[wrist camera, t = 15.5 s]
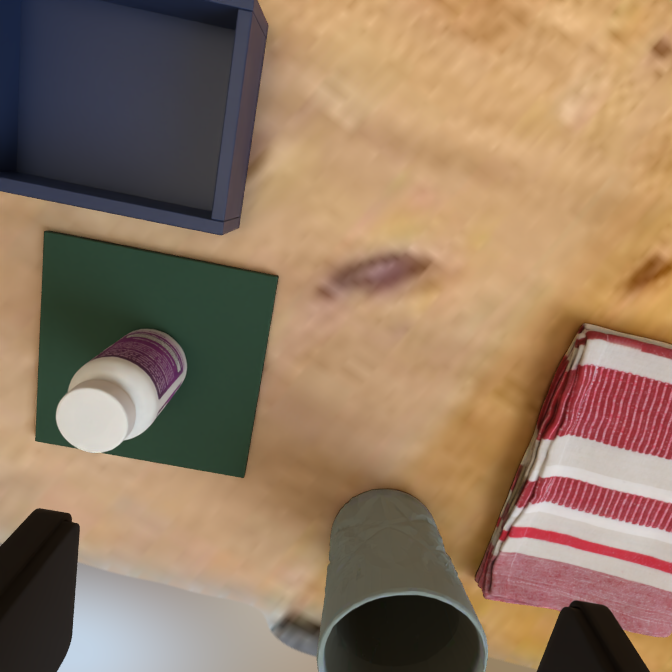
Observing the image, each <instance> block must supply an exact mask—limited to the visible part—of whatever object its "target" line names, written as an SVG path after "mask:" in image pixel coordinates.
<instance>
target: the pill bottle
mask: <svg viewBox="0 0 672 672" xmlns="http://www.w3.org/2000/svg"><path fill="white" fill-rule="evenodd" d="M186 371H187V362H186V357H185V354H184V352H183V350H182V348H181V347H180V345H179V344H178V343H177V342H176V341H175V340H174V339H173V338H172V337H170V336H169V335H168V334H166V333H164V332H161V331H158V330H155V329H139V330H135V331H133V332H130V333H129V334H127V335H125V336H124V337H122V338H121V339H120V340H118V341H117V342H116V343H114V344H113V345H111V346H109V347H108V348H107V349H105V350H104V351H103V352H101V353H100V354H99V355H97V356H96V357H95V358H93V359H92V360H90V361H89V362H88V363H86V364H85V365H84V366H82V367H81V368H80V369H79V370H78V371H77V372H76V374H75V375H74V376H73V378H72V380H71V382H70V385H69V388H68V393H67V394H66V395H65V396H64V397H63V398H62V399H61V400H60V402H59V404H58V407H57V410H56V422H57V426H58V428H59V430H60V432H61V434H62V435H63V437H64V438H65V439H66V440H67V441H68V442H69V443H70V444H72V445H73V446H75V447H76V448H78V449H81V450H83V451H87V452H91V453H102V452H106V451H109V450H112V449H114V448H115V447H117V446H118V445H119V444H120V443H121V442H122V441H124V440H128V439H131V438H134V437H136V436H138V435H140V434H141V433H143V432H144V431H145V430H146V429H147V428H148V427H149V426H150V425H151V424H152V423H153V422H154V420H155V419H156V418H157V416H158V415H159V414H160V412H161V411H162V410H163V409H164V407H165V406H166V405H167V403H168V402H169V401H170V399H171V398H172V397H173V395H174V394H175V393H176V391H177V390H178V388H179V387H180V386H181V384H182V383H183V381H184V379H185V376H186Z"/></svg>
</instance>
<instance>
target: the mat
mask: <svg viewBox="0 0 672 672" xmlns="http://www.w3.org/2000/svg"><path fill="white" fill-rule="evenodd" d="M277 283H278V276H276V275H271V274H266V273H261V272H256V271H251V270H246V269H241V268H236V267H231V266H226V265H221V264H215V263H210V262H205V261H200V260H195V259H190V258H185V257H180V256H175V255H170V254H165V253H160V252H155V251H150V250H145V249H139V248H134V247H129V246H124V245H119V244H114V243H109V242H104V241H99V240H94V239H89V238H84V237H79V236H74V235H69V234H63V233H58V232H53V231H44V248H43V272H42V295H41V319H40V342H39V366H38V390H37V413H36V437H35V441H38V442H43V443H49V444H55V445H60V446H66V447H71V448H76V447H75V446H73V445H72V444H70V443H69V442H68V441H67V440H66V439H65V438H64V437H63V435H62V434H61V432H60V430H59V428H58V426H57V422H56V410H57V407H58V404H59V402H60V400H61V399H62V398H63V397H64V396H65V395H66V394H67V393H68V388H69V385H70V382H71V380H72V378H73V376H74V375H75V374H76V372H77V371H78V370H79V369H80V368H81V367H82V366H84V365H85V364H86V363H88V362H89V361H90V360H92V359H93V358H95V357H96V356H97V355H99V354H100V353H101V352H103V351H104V350H105V349H107V348H108V347H109V346H111V345H113V344H114V343H116V342H117V341H118V340H120V339H121V338H122V337H124V336H125V335H127V334H129V333H130V332H133V331H135V330H139V329H155V330H158V331H161V332H164V333H166V334H168V335H169V336H170V337H172V338H173V339H174V340H175V341H176V342H177V343H178V344H179V345H180V347H181V348H182V350H183V352H184V354H185V357H186V362H187V371H186V376H185V379H184V381H183V383H182V384H181V386H180V387H179V388H178V390H177V391H176V393H175V394H174V395H173V397H172V398H171V399H170V401H169V402H168V403H167V405H166V406H165V407H164V409H163V410H162V411H161V412H160V414H159V415H158V416H157V418H156V419H155V420H154V422H153V423H152V424H151V425H150V426H149V427H148V428H147V429H146V430H145V431H144V432H143V433H141V434H140V435H138V436H136V437H134V438H131V439H128V440H124V441H122V442H121V443H120V444H119V445H118V446H117V447H115V448H114V449H112V450H109V451H106V452H102V453H105V454H111V455H117V456H122V457H128V458H134V459H139V460H145V461H151V462H156V463H162V464H167V465H173V466H179V467H184V468H190V469H196V470H201V471H207V472H213V473H218V474H224V475H230V476H235V477H241V478H244V476H245V471H246V465H247V459H248V453H249V447H250V442H251V436H252V430H253V424H254V418H255V412H256V406H257V400H258V395H259V389H260V383H261V377H262V371H263V365H264V359H265V353H266V347H267V342H268V336H269V330H270V324H271V318H272V312H273V306H274V300H275V294H276V289H277ZM77 449H78V448H77Z"/></svg>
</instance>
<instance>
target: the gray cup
mask: <svg viewBox="0 0 672 672" xmlns="http://www.w3.org/2000/svg"><path fill="white" fill-rule="evenodd" d="M329 561H330V564H329V565H328V568H327V578H326V587H325V598H324V606H323V613H322V621H321V628H320V636H319V643H318V650H317V666H318V672H485V671H486V665H487V660H488V645H487V639H486V635H485V633H484V630H483V628H482V626H481V624H480V622H479V620H478V617H477V615H476V613H475V611H474V609H473V607H472V605H471V602H470V600H469V598H468V596H467V595H466V592H465V590H464V588H463V585H462V583H461V581H460V579H459V578H458V577H457V572H456V570H455V567H454V566H453V564H452V562H451V558H450V557H449V556H448V555H447V553H446V552H445V549H444V545H443V541H442V538H441V536H440V534H439V531H438V529H437V526H436V524H435V521H434V519H433V517H432V515H431V514H430V512H429V511H428V509H427V508H426V507H425V506H424V505H423V504H422V503H421V502H420V501H419V500H418V499H416V498H415V497H413V496H411V495H409V494H407V493H404V492H401V491H398V490H392V489H377V490H370V491H368V492H365V493H362V494H359V495H358V496H357V497H353V498H352V499H351V500H350V501H349V503H347V504H345V505H344V507H343V508H342V509H341V510H340V512H339V513H338V515H337V516H336V518H335V520H334V523H333V526H332V530H331V538H330V552H329Z"/></svg>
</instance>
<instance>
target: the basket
mask: <svg viewBox="0 0 672 672" xmlns="http://www.w3.org/2000/svg"><path fill="white" fill-rule="evenodd" d="M267 31H268V23H267V21H266V19H265V16H264V14H263V12H262V10H261V7H260V5H259V3H258V0H0V191H2V192H7V193H12V194H17V195H22V196H27V197H32V198H37V199H42V200H47V201H52V202H57V203H62V204H67V205H72V206H77V207H82V208H87V209H92V210H97V211H102V212H107V213H112V214H117V215H122V216H127V217H132V218H137V219H142V220H147V221H152V222H157V223H162V224H167V225H172V226H177V227H182V228H187V229H192V230H197V231H202V232H207V233H212V234H217V235H224V234H226V233H228V232H231V231H233V230H235V229H238V228H239V225H240V218H241V211H242V204H243V197H244V190H245V183H246V176H247V169H248V163H249V156H250V149H251V142H252V135H253V128H254V121H255V114H256V107H257V100H258V93H259V87H260V80H261V73H262V66H263V59H264V52H265V45H266V38H267Z"/></svg>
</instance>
